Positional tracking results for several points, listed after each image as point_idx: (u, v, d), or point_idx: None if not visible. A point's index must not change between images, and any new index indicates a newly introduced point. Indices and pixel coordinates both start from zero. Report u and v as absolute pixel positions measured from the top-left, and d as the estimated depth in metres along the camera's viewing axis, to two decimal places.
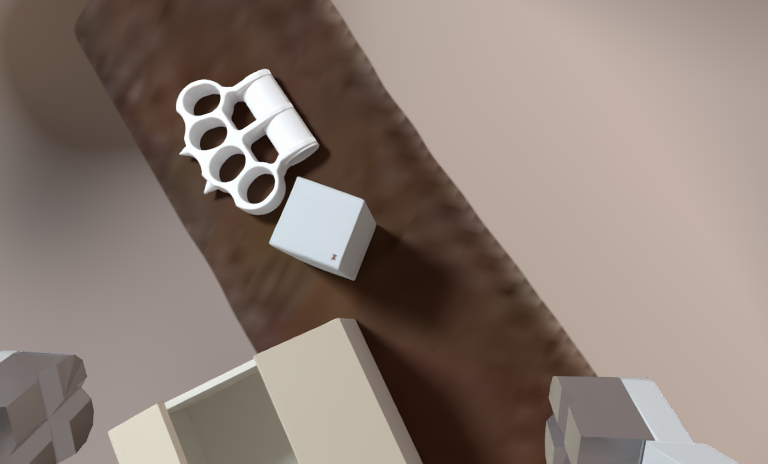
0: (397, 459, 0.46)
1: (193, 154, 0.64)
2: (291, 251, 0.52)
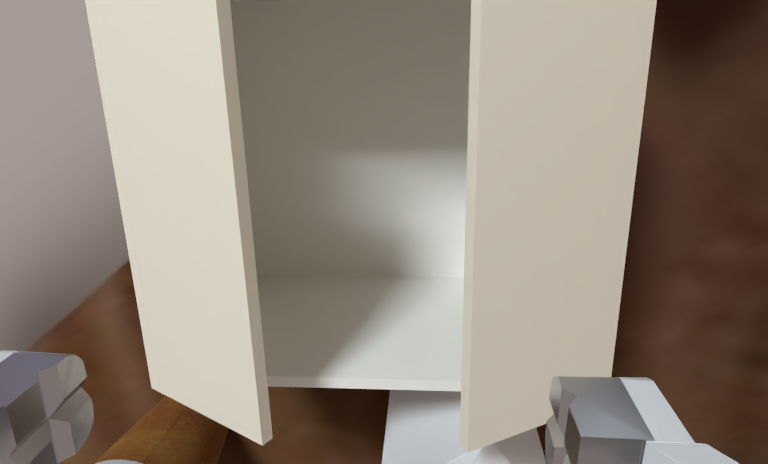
0: (615, 264, 0.24)
1: None
2: None
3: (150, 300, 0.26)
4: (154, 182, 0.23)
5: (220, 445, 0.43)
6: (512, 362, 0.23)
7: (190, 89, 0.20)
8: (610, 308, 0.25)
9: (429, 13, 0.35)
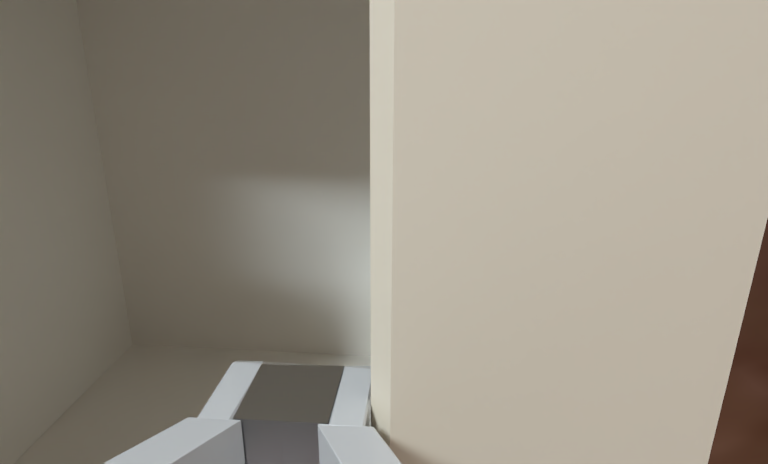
0: None
1: None
2: None
3: None
4: None
5: None
6: None
7: None
8: None
9: None
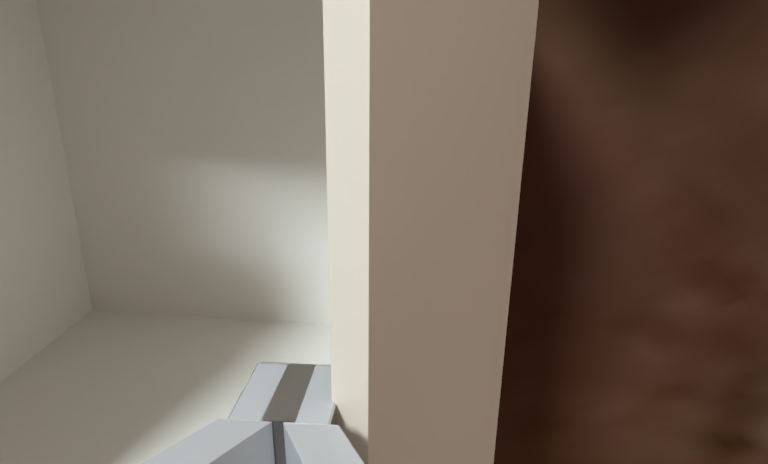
0: (497, 379, 0.15)
1: None
2: None
3: None
4: None
5: None
6: None
7: None
8: (491, 441, 0.16)
9: None
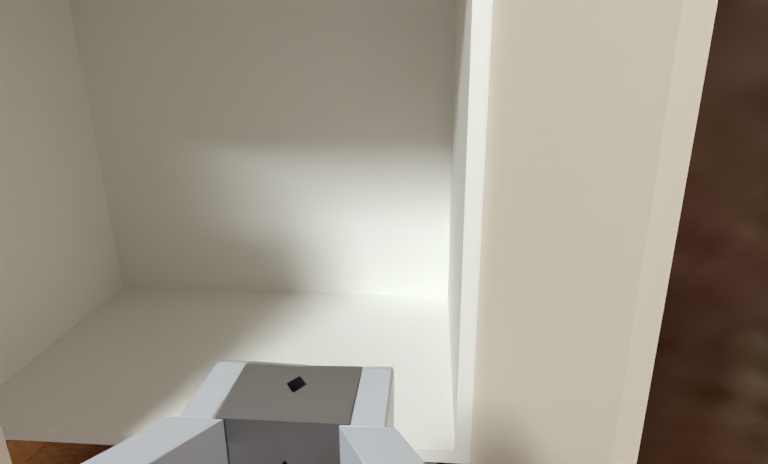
0: None
1: None
2: None
3: None
4: None
5: None
6: None
7: None
8: None
9: None
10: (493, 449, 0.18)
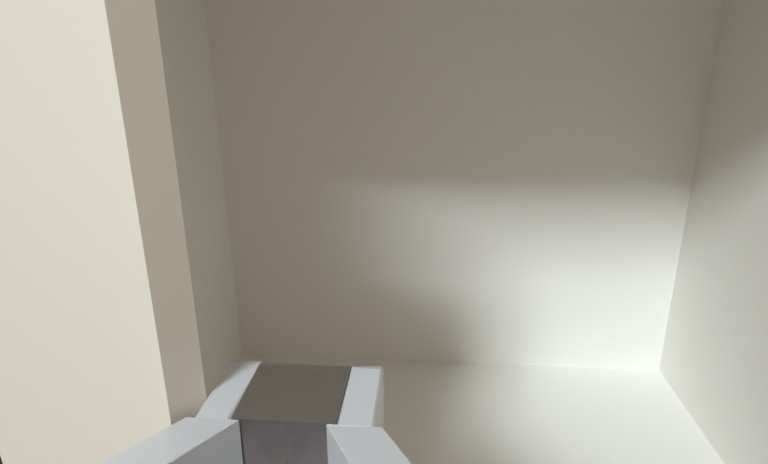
0: None
1: None
2: None
3: None
4: (6, 306, 0.10)
5: None
6: None
7: (43, 106, 0.07)
8: None
9: None
10: None
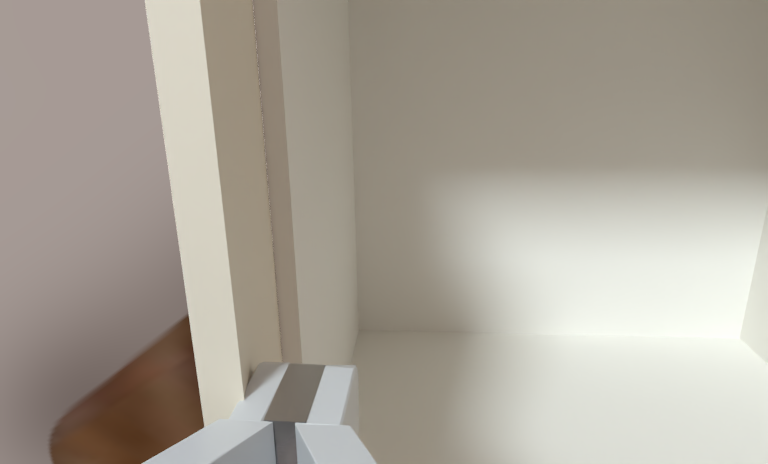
0: None
1: None
2: None
3: None
4: None
5: None
6: None
7: None
8: None
9: None
10: None
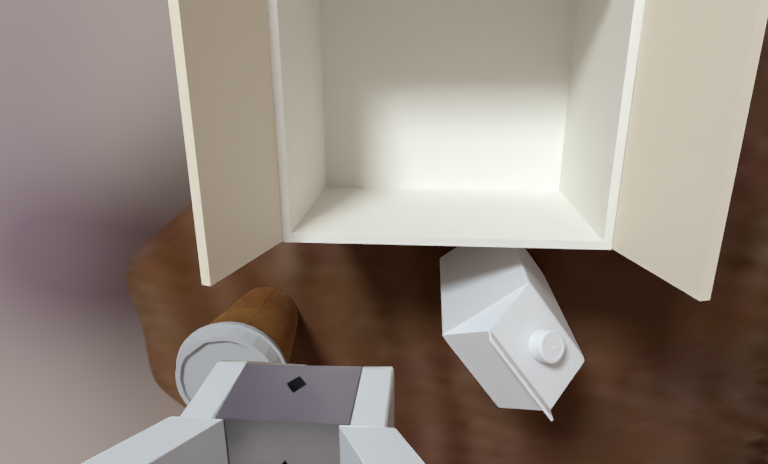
0: None
1: None
2: None
3: None
4: None
5: (295, 329, 0.53)
6: None
7: None
8: None
9: None
10: (636, 223, 0.33)
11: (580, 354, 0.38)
